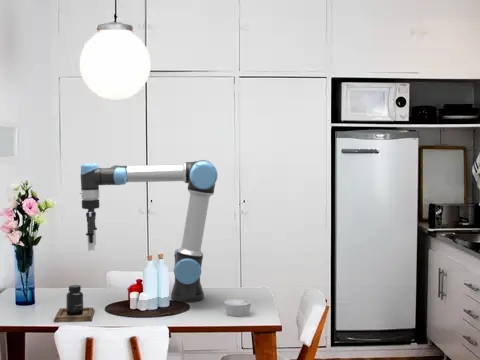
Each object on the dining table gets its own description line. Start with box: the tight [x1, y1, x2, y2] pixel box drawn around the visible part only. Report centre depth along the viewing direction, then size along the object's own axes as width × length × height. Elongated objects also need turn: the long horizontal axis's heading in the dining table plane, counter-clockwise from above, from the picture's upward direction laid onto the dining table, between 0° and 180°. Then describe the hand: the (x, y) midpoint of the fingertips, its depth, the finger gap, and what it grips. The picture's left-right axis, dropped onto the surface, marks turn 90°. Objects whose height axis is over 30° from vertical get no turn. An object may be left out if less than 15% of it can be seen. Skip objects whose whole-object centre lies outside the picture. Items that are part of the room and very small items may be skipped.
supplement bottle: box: [65, 284, 84, 316], centre depth 300 cm, size 7×7×12 cm
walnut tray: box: [53, 306, 96, 323], centre depth 301 cm, size 15×15×2 cm
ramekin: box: [224, 298, 252, 317], centre depth 306 cm, size 11×11×5 cm
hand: (92, 247), depth 314 cm, fingers open, 13 cm apart
